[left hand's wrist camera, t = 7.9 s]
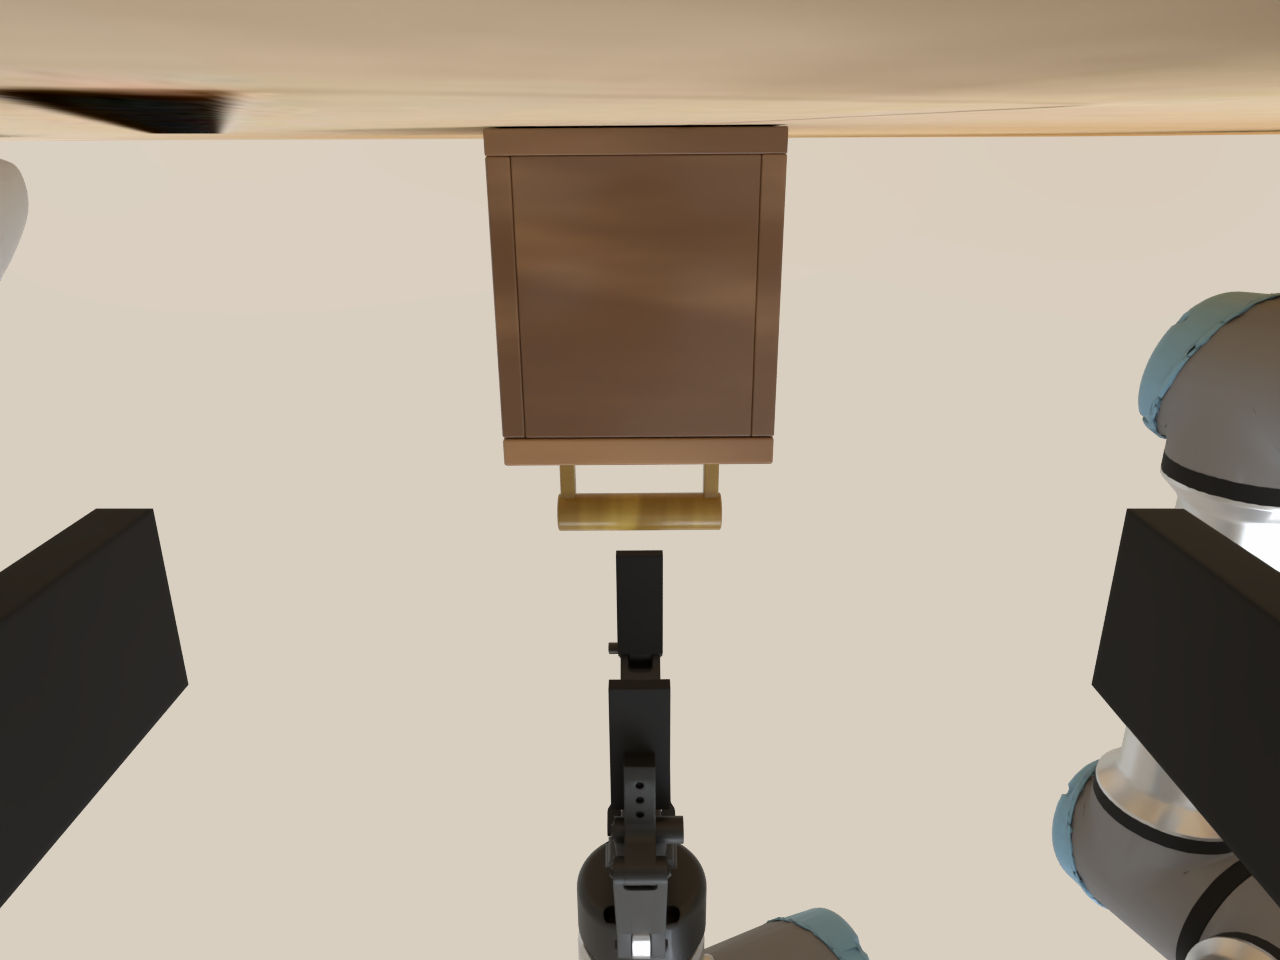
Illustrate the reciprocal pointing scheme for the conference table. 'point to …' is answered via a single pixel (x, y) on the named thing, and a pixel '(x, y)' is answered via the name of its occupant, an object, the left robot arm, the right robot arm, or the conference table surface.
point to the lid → (639, 507)
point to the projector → (11, 211)
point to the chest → (636, 279)
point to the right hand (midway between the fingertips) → (639, 608)
